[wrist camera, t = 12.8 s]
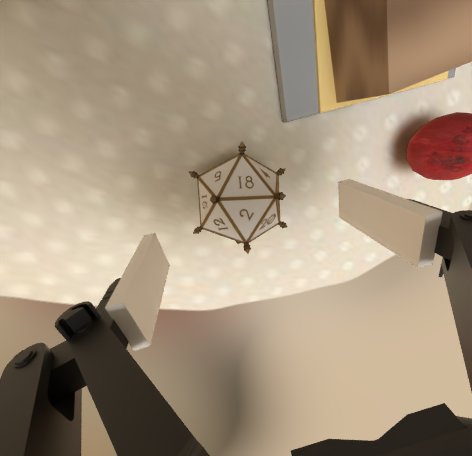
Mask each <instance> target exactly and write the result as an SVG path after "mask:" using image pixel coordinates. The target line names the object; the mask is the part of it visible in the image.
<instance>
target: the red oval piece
mask: <svg viewBox="0 0 472 456" xmlns="http://www.w3.org/2000/svg"><path fill="white" fill-rule="evenodd" d="M406 159H407V161H408V163H409V165H410V167H411V168H412V170H413V171H414V172H416V173H418V174H420V175H422V176H423V177H425V178H428V179H433V180H454V179H459V178H462V177H465V176H467V175H470V174H472V114H471V113H459V112H456V113H452V114H448V115H445V116H441V117H438V118H435V119H434V120H432V121H430V122H428V123H427V124H425V125H424V126H422V127H421V128H420V129H419V130H418V131H417V132H416V133H415V134H414V136H413V137H412V138H411V140H410V142H409V144H408V146H407V156H406Z"/></svg>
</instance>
